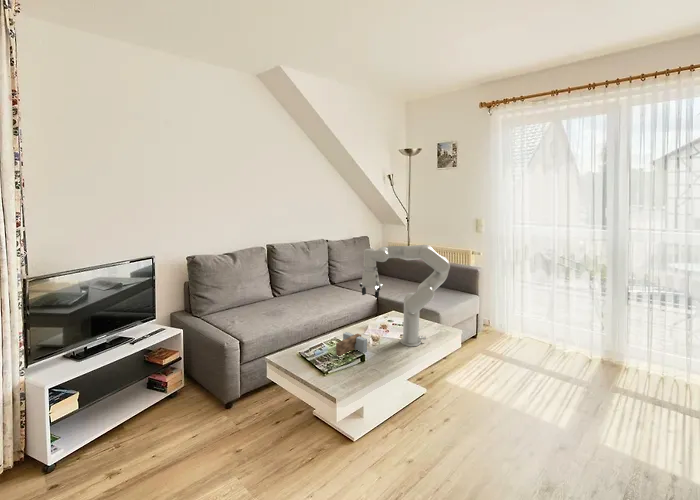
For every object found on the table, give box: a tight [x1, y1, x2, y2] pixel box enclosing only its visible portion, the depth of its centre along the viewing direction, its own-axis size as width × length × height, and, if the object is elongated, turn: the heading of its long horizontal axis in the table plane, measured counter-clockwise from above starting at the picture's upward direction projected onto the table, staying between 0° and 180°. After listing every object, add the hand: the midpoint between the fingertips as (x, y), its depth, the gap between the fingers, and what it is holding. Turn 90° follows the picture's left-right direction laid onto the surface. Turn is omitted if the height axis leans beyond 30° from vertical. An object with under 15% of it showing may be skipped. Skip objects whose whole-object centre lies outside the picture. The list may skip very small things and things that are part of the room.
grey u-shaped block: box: [342, 331, 368, 354], centre depth 232 cm, size 16×3×8 cm, turn 50°
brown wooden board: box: [335, 333, 362, 356], centre depth 228 cm, size 19×3×8 cm, turn 139°
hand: (370, 295), depth 240 cm, fingers open, 9 cm apart
